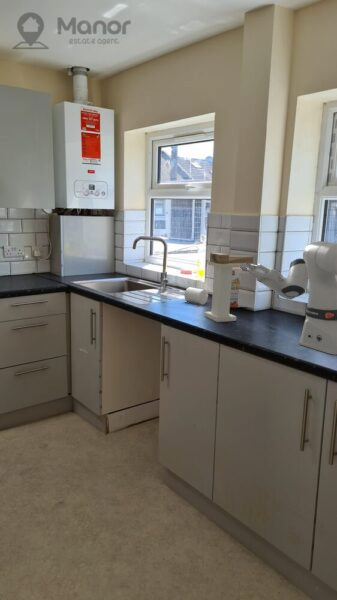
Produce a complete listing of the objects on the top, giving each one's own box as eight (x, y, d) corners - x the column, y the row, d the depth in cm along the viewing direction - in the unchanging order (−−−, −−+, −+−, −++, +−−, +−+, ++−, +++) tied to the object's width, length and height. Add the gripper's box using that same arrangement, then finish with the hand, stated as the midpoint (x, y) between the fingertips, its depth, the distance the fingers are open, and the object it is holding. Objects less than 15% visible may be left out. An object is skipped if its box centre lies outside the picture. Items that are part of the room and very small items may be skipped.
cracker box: (222, 308, 234) (224, 267, 230) (217, 305, 239) (220, 266, 235) (246, 307, 237) (250, 268, 233) (242, 305, 243) (245, 266, 239)
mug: (198, 305, 238) (199, 290, 236) (183, 302, 244) (184, 287, 243) (211, 302, 246) (212, 288, 245) (197, 299, 253) (198, 285, 251)
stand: (235, 320, 207) (240, 264, 202) (217, 322, 202) (221, 264, 198) (222, 314, 217) (226, 261, 212) (204, 316, 213) (207, 261, 208)
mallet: (256, 263, 208) (256, 254, 207) (218, 263, 199) (219, 254, 199) (246, 261, 215) (246, 253, 214) (209, 261, 206) (210, 252, 206)
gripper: (282, 287, 210) (262, 273, 203) (256, 280, 228) (237, 267, 221) (288, 275, 210) (269, 261, 203) (262, 270, 228) (243, 256, 222)
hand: (252, 264), depth 213 cm, fingers open, 8 cm apart
